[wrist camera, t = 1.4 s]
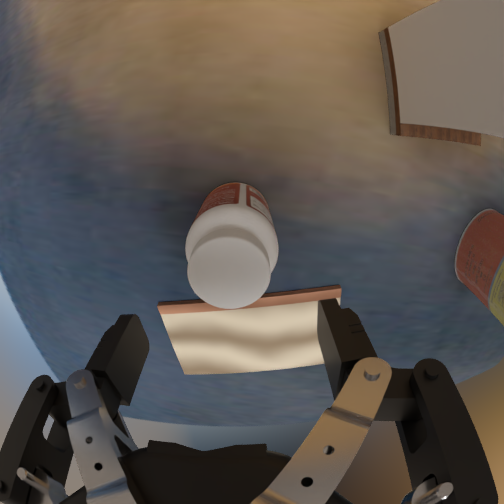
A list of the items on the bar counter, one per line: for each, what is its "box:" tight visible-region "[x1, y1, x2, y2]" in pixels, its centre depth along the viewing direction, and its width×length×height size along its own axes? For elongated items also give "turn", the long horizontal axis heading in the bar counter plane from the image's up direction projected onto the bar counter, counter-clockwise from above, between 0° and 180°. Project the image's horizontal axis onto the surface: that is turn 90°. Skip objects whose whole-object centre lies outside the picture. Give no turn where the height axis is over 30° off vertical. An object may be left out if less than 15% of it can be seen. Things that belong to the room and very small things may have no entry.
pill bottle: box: [185, 182, 278, 309], centre depth 20 cm, size 6×6×11 cm
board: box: [157, 285, 341, 374], centre depth 31 cm, size 12×20×1 cm, turn 96°
